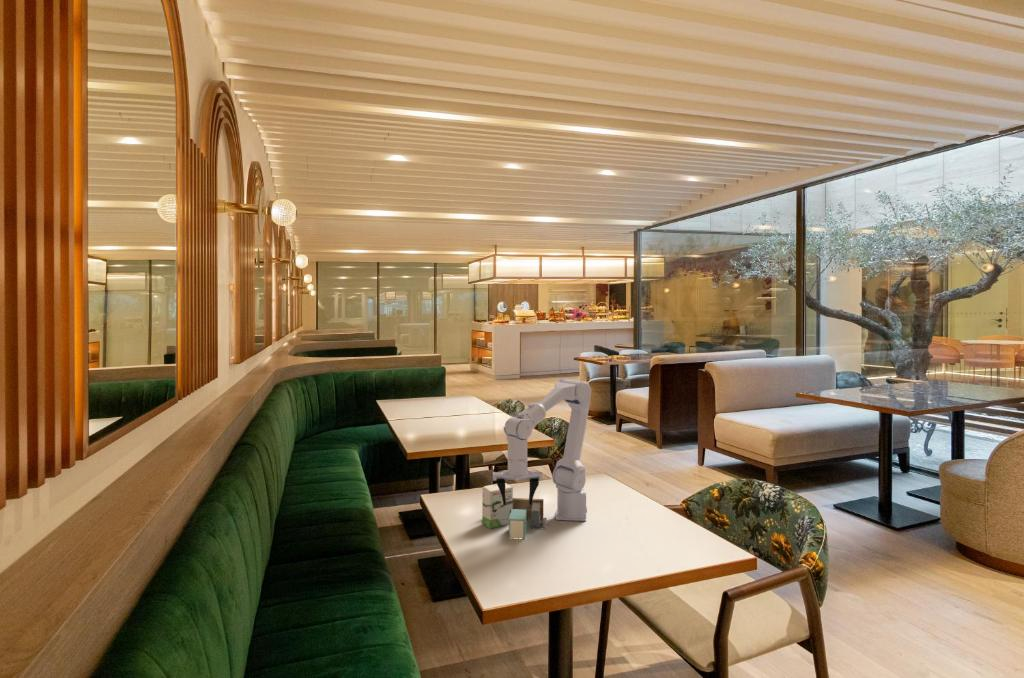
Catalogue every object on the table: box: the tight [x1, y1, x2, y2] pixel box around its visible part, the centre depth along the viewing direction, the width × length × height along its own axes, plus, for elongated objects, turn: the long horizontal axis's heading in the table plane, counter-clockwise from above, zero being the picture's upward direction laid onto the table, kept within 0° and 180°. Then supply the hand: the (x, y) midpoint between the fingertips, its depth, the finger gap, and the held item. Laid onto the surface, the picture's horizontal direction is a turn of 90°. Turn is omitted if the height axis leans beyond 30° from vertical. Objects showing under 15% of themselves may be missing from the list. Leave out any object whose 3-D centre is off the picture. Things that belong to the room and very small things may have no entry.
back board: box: [513, 497, 544, 519], centre depth 186 cm, size 17×1×6 cm, turn 84°
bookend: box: [530, 502, 547, 530], centre depth 181 cm, size 4×8×6 cm, turn 174°
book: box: [508, 509, 527, 540], centre depth 173 cm, size 4×8×6 cm, turn 174°
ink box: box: [481, 482, 514, 529], centre depth 181 cm, size 9×5×12 cm, turn 123°
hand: (517, 503), depth 172 cm, fingers open, 7 cm apart
